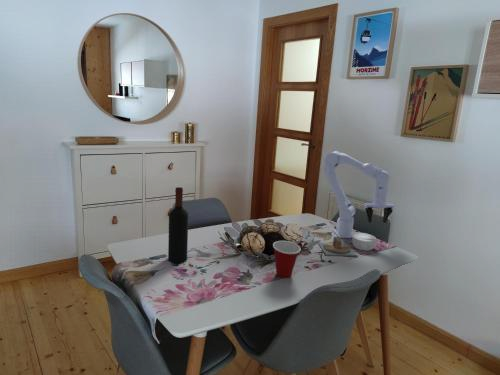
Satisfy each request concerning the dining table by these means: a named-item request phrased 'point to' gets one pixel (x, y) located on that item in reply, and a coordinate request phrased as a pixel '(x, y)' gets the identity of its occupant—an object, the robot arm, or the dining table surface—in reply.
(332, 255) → the mat
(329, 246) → the lid
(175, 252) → the wine bottle
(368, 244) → the ramekin
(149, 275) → the dining table surface
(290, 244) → the plastic cup
